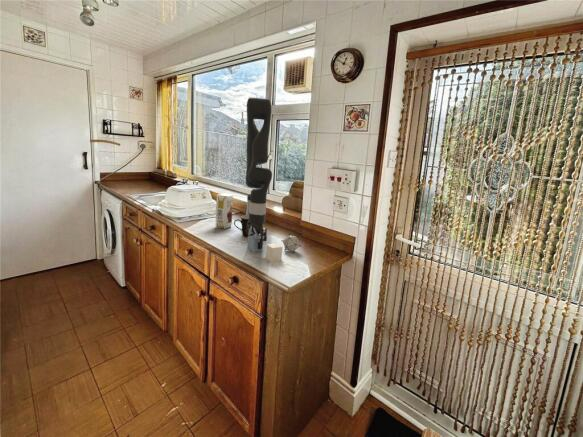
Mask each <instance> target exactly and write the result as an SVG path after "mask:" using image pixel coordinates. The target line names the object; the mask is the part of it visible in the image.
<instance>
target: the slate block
mask: <svg viewBox="0 0 583 437" xmlns="http://www.w3.org/2000/svg"><path fill="white" fill-rule="evenodd" d="M257 248H258V238H257V237H256V235H253V236H248V237H247V249H248V250H250V251H251V252H259V251H263V249H264V248H262V249H260V250H259V249H257Z"/></svg>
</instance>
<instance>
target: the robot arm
mask: <svg viewBox="0 0 583 437" xmlns="http://www.w3.org/2000/svg"><path fill="white" fill-rule="evenodd" d="M271 119H272V102H271V99H269V98H266V97H265V98H263V97H262V98H261V97H249V98H248V99H247V101H246V122H247V124H246V125H247V134H246V173H245V185H246V187H247V188H251V190H250V193H249V194H247V197H246V212H245V216H249V222H247V228H246V234H248V236H253V235H254V234H255V235H256V237H257V238H258V248H257V249H259V250H260V249H262V248H263V246H264V242H267V236H268V235H267V233H268V232H267V231H268V229H267V227H264V226H263V225H264V224H265V223H266V216H267V194H268V190H269V187H270V184H271V181H272V178H273V173H272V170H271V169H270V168H268V167H257V166H258V165H264V164H266V163H268V161H269V136H270V130H271V129H270V128H271V121H272V120H271ZM255 120H263V124H262V127H261V128H260V130H259V129H258V128H257V125H256V122H255ZM252 188H253V189H252ZM248 229H250V230H249V231H248ZM263 249H264V248H263ZM263 249H262V250H263Z"/></svg>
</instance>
